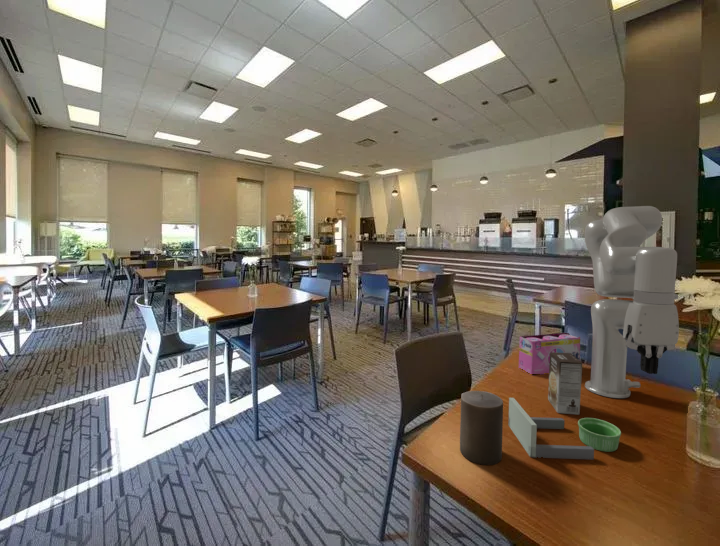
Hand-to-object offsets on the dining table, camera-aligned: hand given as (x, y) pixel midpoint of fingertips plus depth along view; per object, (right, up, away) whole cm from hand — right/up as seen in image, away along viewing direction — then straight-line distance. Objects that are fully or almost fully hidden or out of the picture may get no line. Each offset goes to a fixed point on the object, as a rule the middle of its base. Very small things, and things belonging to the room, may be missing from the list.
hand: (648, 371), depth 84 cm
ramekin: (-11, -19, +3) cm, 22 cm away
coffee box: (-8, -17, +21) cm, 29 cm away
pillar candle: (-42, -20, -1) cm, 46 cm away
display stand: (-23, -19, +3) cm, 30 cm away
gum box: (+5, -15, +53) cm, 55 cm away
